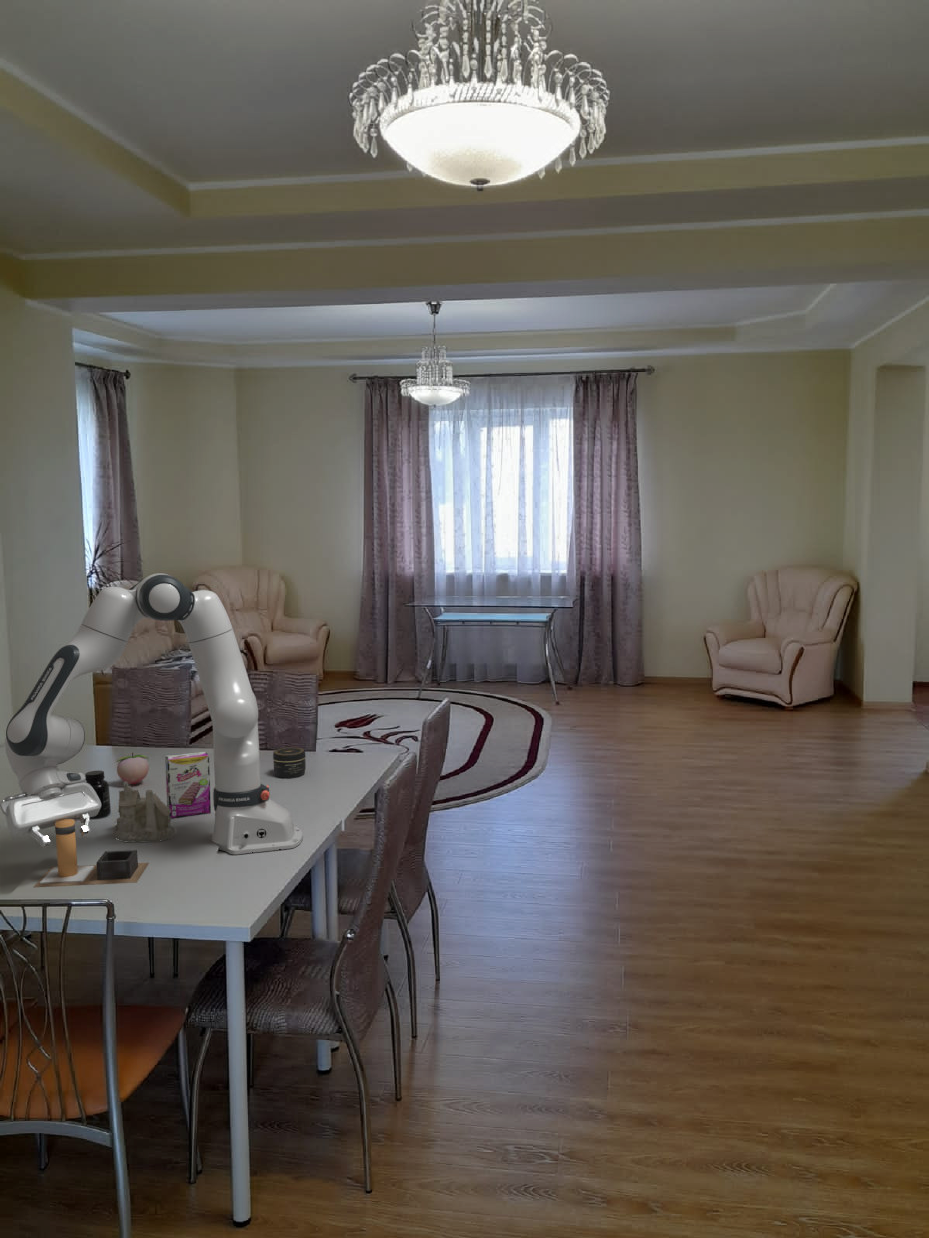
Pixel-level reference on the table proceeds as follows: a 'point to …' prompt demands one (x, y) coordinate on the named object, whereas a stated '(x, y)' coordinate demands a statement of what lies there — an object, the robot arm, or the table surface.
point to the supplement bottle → (100, 791)
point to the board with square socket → (100, 871)
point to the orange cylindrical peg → (66, 847)
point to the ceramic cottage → (142, 817)
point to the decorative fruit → (132, 768)
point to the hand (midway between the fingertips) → (66, 839)
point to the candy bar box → (188, 784)
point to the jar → (289, 762)
